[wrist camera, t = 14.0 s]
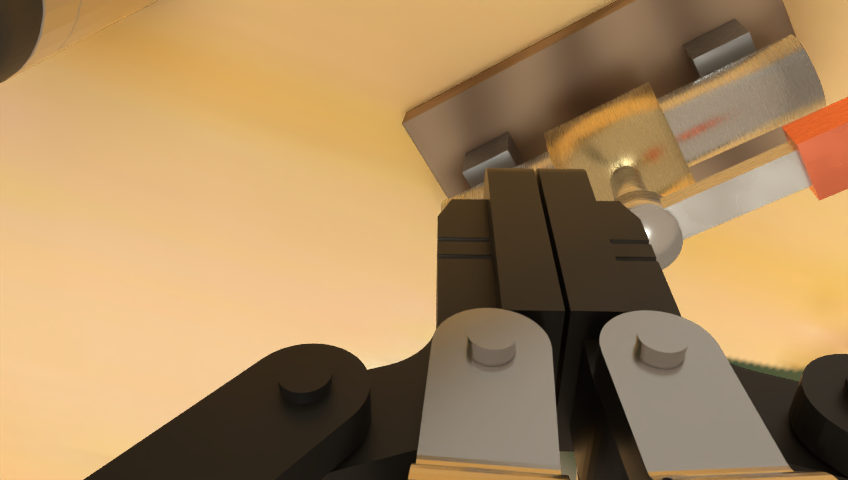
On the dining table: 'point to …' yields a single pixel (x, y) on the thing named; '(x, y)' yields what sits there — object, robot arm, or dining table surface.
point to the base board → (586, 80)
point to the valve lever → (750, 182)
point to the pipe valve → (671, 119)
